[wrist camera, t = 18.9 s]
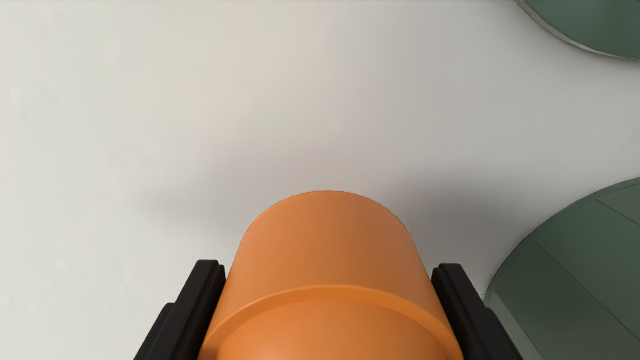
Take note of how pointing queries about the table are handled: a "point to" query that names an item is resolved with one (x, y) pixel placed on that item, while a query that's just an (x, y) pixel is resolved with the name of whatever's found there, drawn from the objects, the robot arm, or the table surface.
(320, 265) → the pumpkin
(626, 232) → the crock
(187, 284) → the robot arm
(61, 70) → the table surface
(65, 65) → the table surface
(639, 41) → the crock lid
